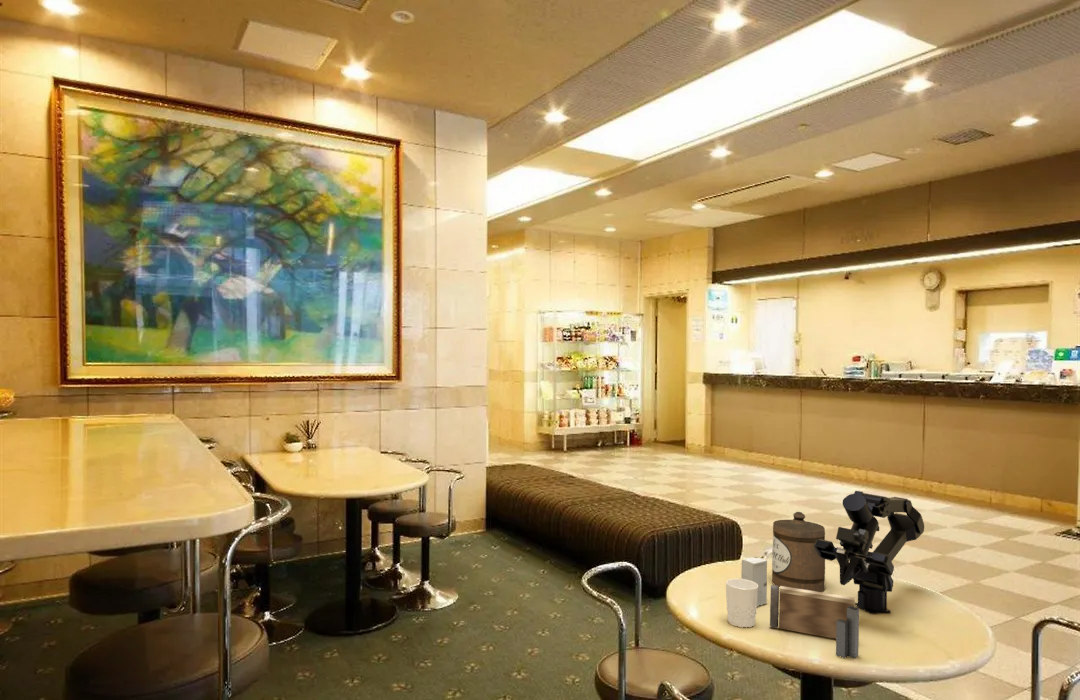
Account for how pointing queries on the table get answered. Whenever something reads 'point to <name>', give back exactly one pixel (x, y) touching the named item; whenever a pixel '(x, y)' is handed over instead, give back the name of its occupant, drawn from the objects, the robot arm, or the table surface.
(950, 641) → the table surface
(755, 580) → the skincare box
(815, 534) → the wooden container
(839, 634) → the post
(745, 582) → the white cup
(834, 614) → the gate leaf
